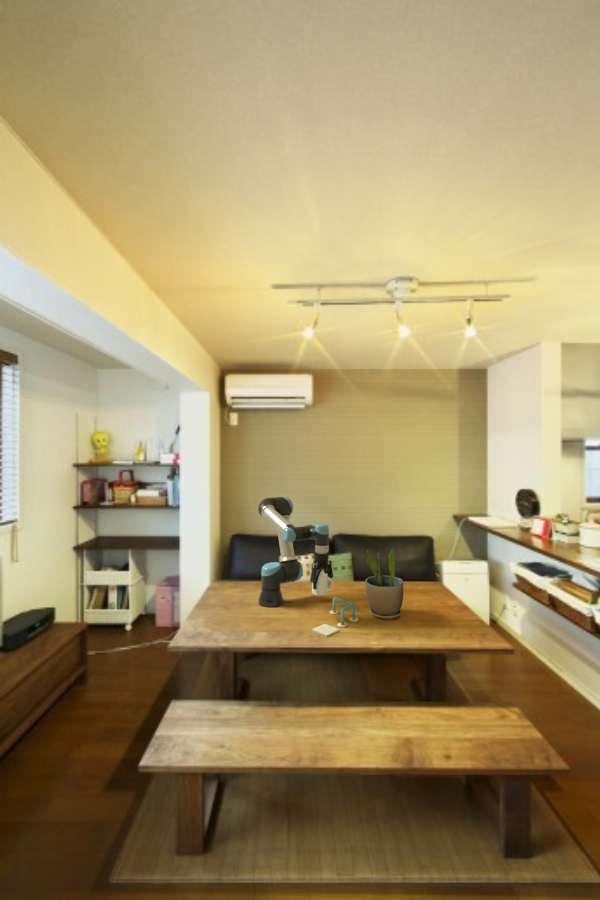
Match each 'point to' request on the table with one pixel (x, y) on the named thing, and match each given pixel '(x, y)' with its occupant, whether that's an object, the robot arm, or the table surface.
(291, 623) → the table surface
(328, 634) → the coaster
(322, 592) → the mug
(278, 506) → the robot arm
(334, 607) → the wire course
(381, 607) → the potted plant
